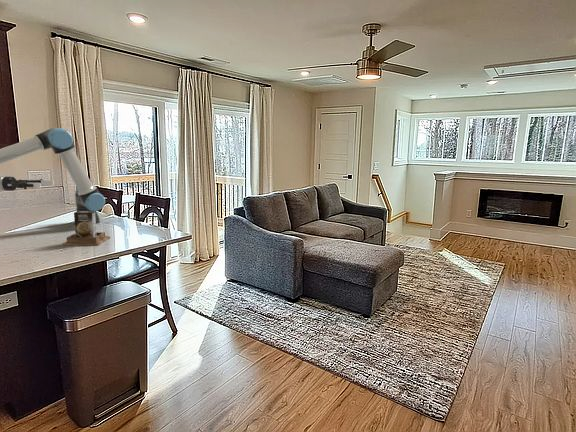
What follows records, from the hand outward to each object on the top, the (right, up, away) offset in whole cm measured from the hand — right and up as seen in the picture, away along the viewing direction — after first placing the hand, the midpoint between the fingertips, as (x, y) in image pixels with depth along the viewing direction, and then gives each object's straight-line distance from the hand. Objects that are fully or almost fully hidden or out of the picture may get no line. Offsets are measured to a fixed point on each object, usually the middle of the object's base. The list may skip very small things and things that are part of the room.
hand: (47, 184), depth 202 cm
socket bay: (+21, -32, +1) cm, 38 cm away
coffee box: (+21, -31, +1) cm, 38 cm away
